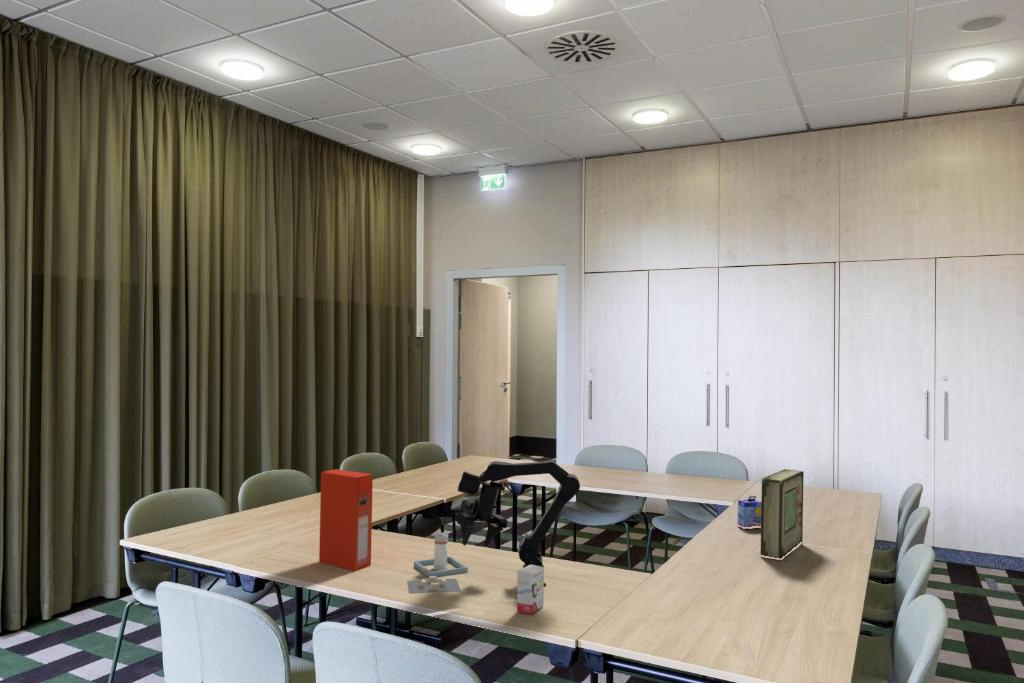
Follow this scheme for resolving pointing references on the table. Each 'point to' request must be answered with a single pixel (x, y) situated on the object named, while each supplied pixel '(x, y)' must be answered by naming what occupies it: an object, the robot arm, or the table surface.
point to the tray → (450, 559)
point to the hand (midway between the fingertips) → (474, 545)
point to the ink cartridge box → (749, 512)
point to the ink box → (530, 589)
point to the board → (433, 585)
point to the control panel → (781, 512)
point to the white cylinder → (440, 551)
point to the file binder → (346, 519)
